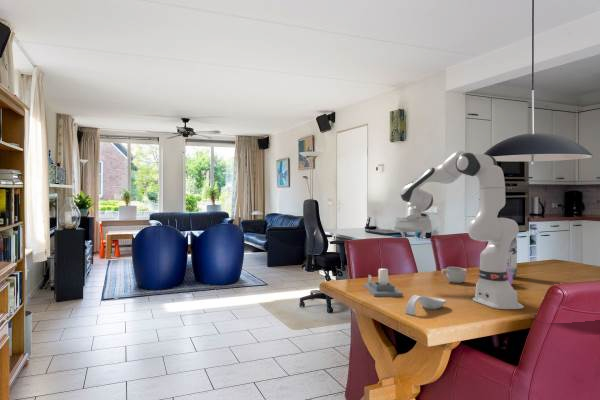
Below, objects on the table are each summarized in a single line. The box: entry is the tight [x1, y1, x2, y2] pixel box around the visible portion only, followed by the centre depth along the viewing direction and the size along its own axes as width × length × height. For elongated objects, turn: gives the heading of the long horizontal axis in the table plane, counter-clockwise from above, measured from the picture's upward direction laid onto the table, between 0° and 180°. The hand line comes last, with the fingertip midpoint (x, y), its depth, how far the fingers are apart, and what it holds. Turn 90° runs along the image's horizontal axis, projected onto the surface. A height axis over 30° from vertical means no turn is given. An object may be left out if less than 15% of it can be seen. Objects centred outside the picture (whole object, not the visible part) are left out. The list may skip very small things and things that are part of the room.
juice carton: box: [506, 236, 518, 280], centre depth 250 cm, size 9×10×27 cm
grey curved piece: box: [404, 294, 447, 316], centre depth 176 cm, size 24×12×7 cm, turn 134°
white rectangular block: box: [377, 268, 389, 286], centre depth 209 cm, size 5×5×10 cm
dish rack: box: [363, 274, 404, 298], centre depth 211 cm, size 24×14×6 cm, turn 4°
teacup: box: [441, 266, 467, 284], centre depth 234 cm, size 14×11×8 cm
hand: (412, 236), depth 223 cm, fingers open, 8 cm apart
